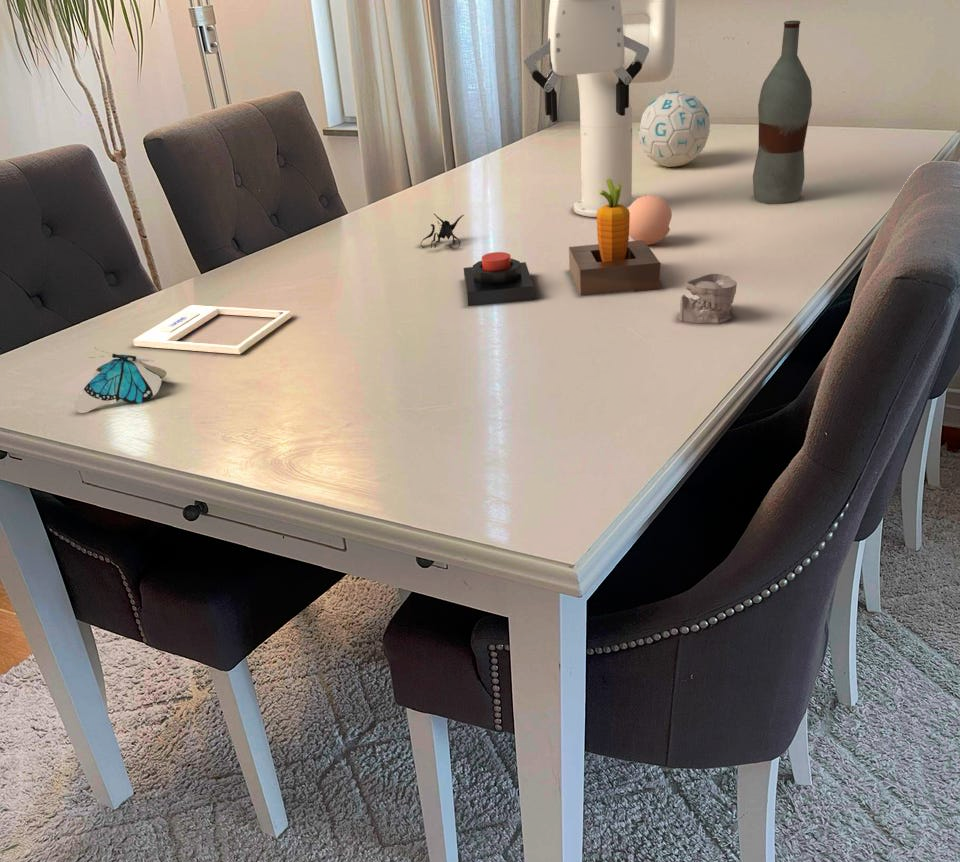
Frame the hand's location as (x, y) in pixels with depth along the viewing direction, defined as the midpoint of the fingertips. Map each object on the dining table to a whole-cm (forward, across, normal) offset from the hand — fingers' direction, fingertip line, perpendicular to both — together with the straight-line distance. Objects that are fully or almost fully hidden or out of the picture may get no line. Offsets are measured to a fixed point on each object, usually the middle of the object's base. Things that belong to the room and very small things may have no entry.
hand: (587, 117), depth 135 cm
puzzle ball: (+24, -31, -72) cm, 82 cm away
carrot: (+24, -4, 0) cm, 25 cm away
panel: (+24, +14, 0) cm, 28 cm away
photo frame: (+24, +57, +6) cm, 63 cm away
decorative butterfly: (+24, +66, +26) cm, 75 cm away
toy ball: (+24, -13, -17) cm, 32 cm away
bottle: (+24, -42, -37) cm, 61 cm away
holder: (+24, -4, 0) cm, 24 cm away
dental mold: (+24, -13, +19) cm, 34 cm away
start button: (+20, +14, 0) cm, 25 cm away
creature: (+24, +22, -27) cm, 43 cm away
